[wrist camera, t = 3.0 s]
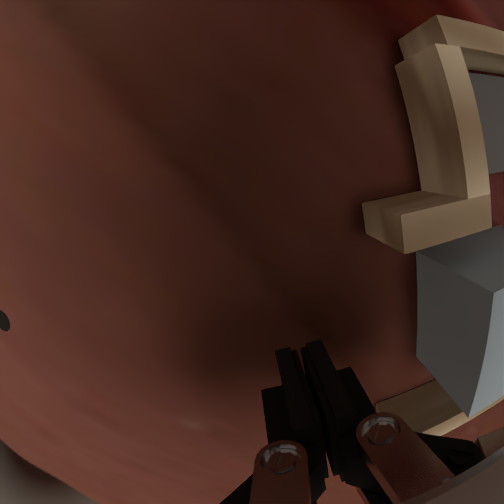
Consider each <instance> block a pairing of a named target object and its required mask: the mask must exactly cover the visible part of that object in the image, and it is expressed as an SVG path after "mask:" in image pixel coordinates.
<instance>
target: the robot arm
mask: <svg viewBox="0 0 504 504" xmlns="http://www.w3.org/2000/svg"><path fill="white" fill-rule="evenodd" d="M301 353H302V359H303V364H304V369H305V373H304V370H303V367H302V365H301V362H300V359H299V356H298V353H297V350H292V351H291V350H290V347H288V348H284V349H280V350H276V351H275V354H276V358H277V363H278V367H279V372H280V376H281V381H282V385H281V386H276V387H272V388H267V389H263V390H262V399H263V407H264V415H265V422H266V430H267V438H268V445H266V446H265V447H263V448H262V449H261V450H260V451H259V452H258V454H257V455H256V458H255V463H254V471H253V474H252V475H251V476H250V477H249V478H248V479H247V480H246V481H245V482H243V483H242V484H241V485H240V486H239V487H238V488H237V489H236V490H235V491H233V492H232V493H231V494H230V495H229V496H228V497H227V498H225V499H224V500H223V501H222V502H221V503H220V504H317V499H318V498H319V497H320V496H321V495H322V493H323V492H324V491H325V490H326V486H325V479H324V478H328V477H329V475H328V467H327V460H326V454H327V457H328V460H329V463H330V467H331V470H332V473H333V475H334V476H335V475H340V478H341V481H342V482H343V481H345V482H346V484H349V485H352V486H355V487H356V489H357V492H358V493H359V495H360V497H361V498H362V500H363V501H364V503H365V504H504V427H502V428H500V429H498V430H495V431H493V432H490V433H488V434H485V435H482V436H480V437H478V438H477V440H476V441H473V442H472V441H468V440H463V439H455V438H449V437H442V436H436V435H430V434H424V433H419V432H414V431H413V430H412V429H411V428H410V427H409V426H408V424H407V423H406V422H405V421H404V420H403V419H402V418H401V417H399V416H398V415H396V414H393V413H388V412H381V413H377V412H376V410H375V409H374V407H373V405H372V403H371V401H370V400H369V398H368V396H367V394H366V393H365V391H364V389H363V387H362V386H361V384H360V382H359V380H358V379H357V377H356V375H355V373H354V371H353V370H352V368H351V367H347V368H344V369H341V370H338V371H336V369H335V367H334V365H333V363H332V361H331V359H330V357H329V355H328V353H327V351H326V349H325V347H324V345H323V343H322V341H321V339H319V340H315V341H311V342H308V343H306V347H304V348H301ZM305 375H306V376H305ZM325 451H326V452H325Z"/></svg>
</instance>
